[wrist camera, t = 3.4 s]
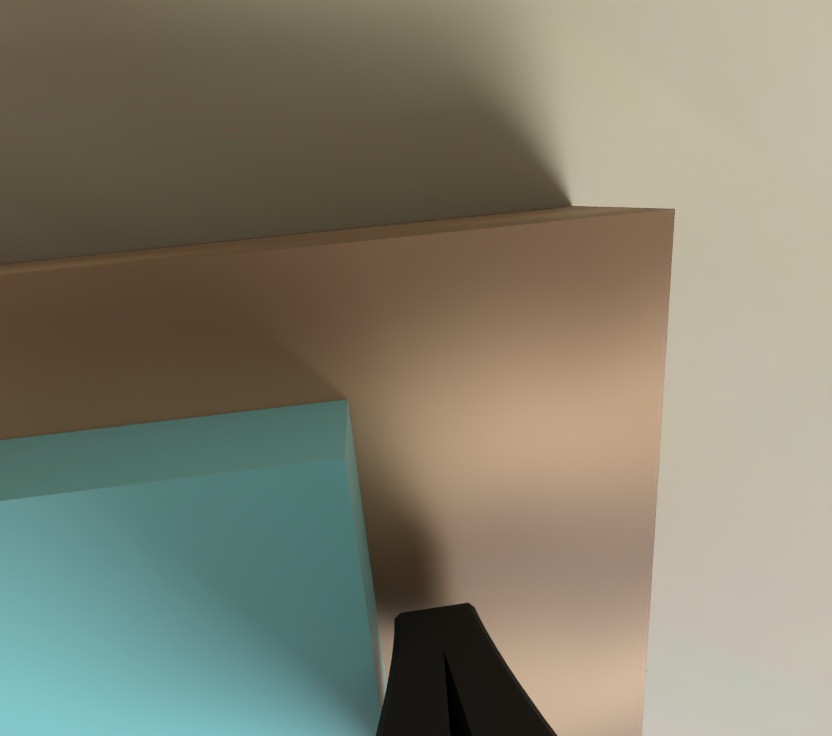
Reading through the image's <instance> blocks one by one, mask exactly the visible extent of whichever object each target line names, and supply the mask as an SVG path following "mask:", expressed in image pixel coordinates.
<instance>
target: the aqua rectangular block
mask: <svg viewBox="0 0 832 736" xmlns="http://www.w3.org/2000/svg"><path fill="white" fill-rule="evenodd" d="M386 688H387V683H386V675H385V668H384V661H383V654H382V646H381V639H380V632H379V624H378V617H377V610H376V602H375V595H374V588H373V580H372V573H371V566H370V558H369V551H368V544H367V536H366V529H365V522H364V514H363V507H362V500H361V492H360V485H359V478H358V471H357V463H356V456H355V449H354V441H353V434H352V427H351V419H350V412H349V405H348V399H346V400H337V401H329V402H320V403H312V404H303V405H295V406H286V407H278V408H269V409H261V410H252V411H244V412H235V413H227V414H218V415H210V416H201V417H193V418H184V419H176V420H167V421H159V422H150V423H142V424H133V425H125V426H116V427H108V428H99V429H91V430H82V431H74V432H65V433H57V434H48V435H40V436H31V437H23V438H14V439H6V440H0V736H376V732H377V728H378V723H379V719H380V715H381V710H382V706H383V701H384V697H385V693H386Z"/></svg>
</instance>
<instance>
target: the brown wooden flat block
mask: <svg viewBox="0 0 832 736" xmlns="http://www.w3.org/2000/svg"><path fill="white" fill-rule="evenodd" d="M674 215H675V209H657V208H622V207H587V206H570V207H560V208H550V209H540V210H530V211H520V212H511V213H501V214H491V215H481V216H471V217H461V218H452V219H442V220H432V221H422V222H412V223H402V224H393V225H383V226H373V227H363V228H353V229H343V230H334V231H324V232H314V233H304V234H294V235H284V236H275V237H265V238H255V239H245V240H235V241H225V242H216V243H206V244H196V245H186V246H176V247H166V248H157V249H147V250H137V251H127V252H117V253H107V254H98V255H88V256H78V257H68V258H58V259H48V260H39V261H29V262H19V263H9V264H0V440H6V439H14V438H23V437H31V436H40V435H48V434H57V433H65V432H74V431H82V430H91V429H99V428H108V427H116V426H125V425H133V424H142V423H150V422H159V421H167V420H176V419H184V418H193V417H201V416H210V415H218V414H227V413H235V412H244V411H252V410H261V409H269V408H278V407H286V406H295V405H303V404H312V403H320V402H329V401H337V400H346V399H348V405H349V412H350V419H351V427H352V434H353V441H354V449H355V456H356V463H357V471H358V478H359V485H360V492H361V500H362V507H363V514H364V522H365V529H366V536H367V544H368V551H369V558H370V566H371V573H372V580H373V588H374V595H375V602H376V610H377V617H378V624H379V632H380V639H381V646H382V654H383V661H384V668H385V675H386V683H387V682H388V677H389V671H390V665H391V659H392V651H393V641H394V619H395V618H396V617H397V616H398V615H399V614H400V613H402V612H409V611H415V610H422V609H429V608H435V607H442V606H449V605H455V604H462V603H470V604H471V605H472V606H474V607H475V609H476V611H477V613H478V615H479V617H480V619H481V621H482V623H483V625H484V627H485V628H486V630H487V632H488V634H489V635H490V637H491V639H492V641H493V642H494V644H495V646H496V647H497V649H498V650H499V652H500V654H501V655H502V657H503V658H504V660H505V662H506V663H507V665H508V666H509V668H510V669H511V671H512V672H513V674H514V675H515V677H516V678H517V680H518V681H519V683H520V684H521V686H522V687H523V689H524V690H525V691H526V693H527V694H528V696H529V697H530V698H531V700H532V701H533V703H534V704H535V706H536V707H537V708H538V710H539V711H540V713H541V714H542V715H543V717H544V718H545V720H546V721H547V722H548V724H549V725H550V726H551V728H552V729H553V730H554V732H555V733H556V734H557V736H642V726H643V710H644V694H645V678H646V662H647V646H648V630H649V614H650V598H651V582H652V566H653V550H654V534H655V518H656V502H657V486H658V470H659V454H660V438H661V422H662V407H663V391H664V375H665V359H666V343H667V327H668V311H669V295H670V279H671V263H672V247H673V231H674Z"/></svg>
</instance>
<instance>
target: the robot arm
mask: <svg viewBox="0 0 832 736" xmlns="http://www.w3.org/2000/svg"><path fill="white" fill-rule="evenodd" d="M376 736H557V734H556V733H555V732H554V730H553V729H552V728H551V726H550V725H549V724H548V722H547V721H546V720H545V718H544V717H543V715H542V714H541V713H540V711H539V710H538V708H537V707H536V706H535V704H534V703H533V701H532V700H531V698H530V697H529V696H528V694H527V693H526V691H525V690H524V689H523V687H522V686H521V684H520V683H519V681H518V680H517V678H516V677H515V675H514V674H513V672H512V671H511V669H510V668H509V666H508V665H507V663H506V662H505V660H504V658H503V657H502V655H501V654H500V652H499V650H498V649H497V647H496V646H495V644H494V642H493V641H492V639H491V637H490V635H489V634H488V632H487V630H486V628H485V627H484V625H483V623H482V621H481V619H480V617H479V615H478V613H477V611H476V609H475V607H474V606H472V605H471V604H470V603H462V604H455V605H449V606H442V607H435V608H429V609H422V610H415V611H409V612H402V613H400V614H399V615H398V616H397V617H396V618H395V619H394V641H393V651H392V659H391V665H390V671H389V677H388V682H387V688H386V693H385V697H384V701H383V706H382V710H381V715H380V719H379V723H378V728H377V732H376Z"/></svg>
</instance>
